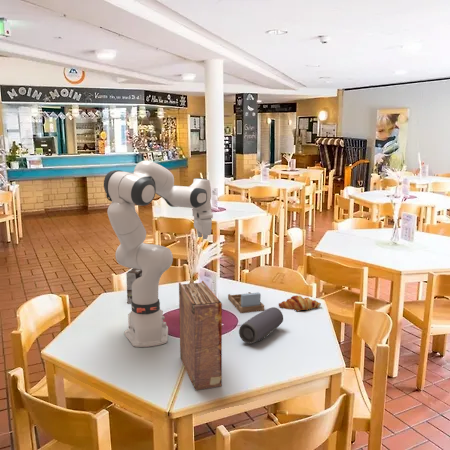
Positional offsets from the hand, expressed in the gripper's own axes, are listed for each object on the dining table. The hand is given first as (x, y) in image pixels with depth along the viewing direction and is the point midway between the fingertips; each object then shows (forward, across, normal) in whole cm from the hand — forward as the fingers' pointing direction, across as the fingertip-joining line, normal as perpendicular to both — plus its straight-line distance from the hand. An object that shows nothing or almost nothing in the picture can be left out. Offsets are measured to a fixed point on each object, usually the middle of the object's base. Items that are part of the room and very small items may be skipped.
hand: (202, 240), depth 223 cm
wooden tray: (+34, +4, +21) cm, 40 cm away
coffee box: (+34, -20, -30) cm, 50 cm away
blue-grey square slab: (+33, +11, +21) cm, 41 cm away
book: (+34, +60, -16) cm, 71 cm away
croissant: (+34, +14, +46) cm, 59 cm away
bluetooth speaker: (+34, +39, +16) cm, 54 cm away
